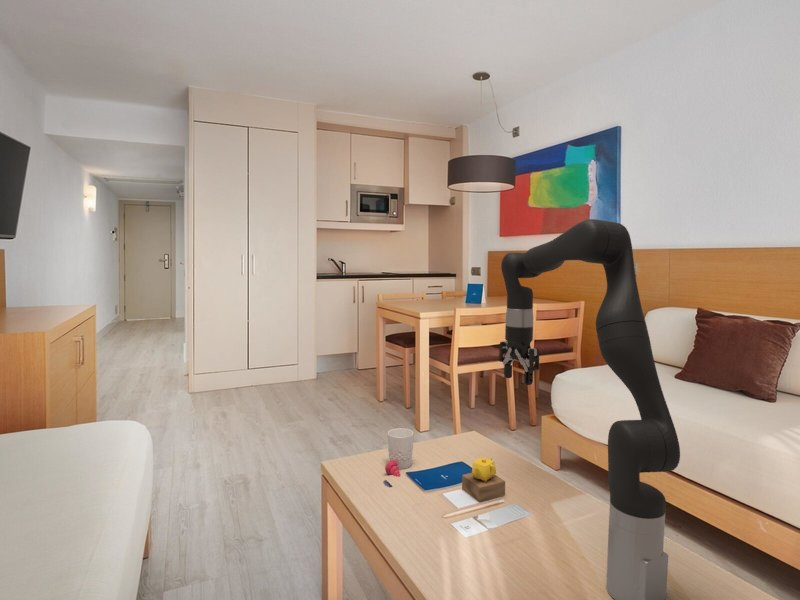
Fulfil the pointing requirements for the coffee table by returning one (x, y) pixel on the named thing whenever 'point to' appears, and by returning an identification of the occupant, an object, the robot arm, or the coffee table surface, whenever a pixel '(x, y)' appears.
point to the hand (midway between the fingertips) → (517, 381)
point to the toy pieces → (391, 471)
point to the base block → (483, 487)
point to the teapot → (483, 469)
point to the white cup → (401, 446)
